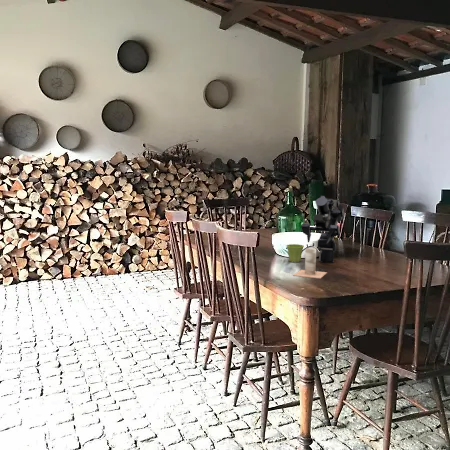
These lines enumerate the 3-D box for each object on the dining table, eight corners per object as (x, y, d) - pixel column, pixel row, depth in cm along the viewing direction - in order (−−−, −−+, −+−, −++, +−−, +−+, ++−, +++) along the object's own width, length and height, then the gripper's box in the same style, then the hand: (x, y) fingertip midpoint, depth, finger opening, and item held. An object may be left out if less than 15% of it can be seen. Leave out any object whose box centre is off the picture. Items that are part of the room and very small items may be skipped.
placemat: (300, 270, 241) (300, 269, 241) (326, 272, 236) (326, 272, 236) (293, 275, 229) (293, 275, 229) (320, 278, 224) (320, 277, 224)
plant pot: (304, 263, 258) (304, 247, 257) (286, 263, 259) (286, 246, 258) (302, 259, 268) (303, 244, 266) (285, 259, 268) (285, 244, 267)
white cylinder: (310, 272, 236) (311, 247, 234) (317, 274, 232) (318, 249, 230) (302, 273, 233) (303, 248, 232) (309, 275, 229) (310, 250, 228)
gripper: (302, 207, 248) (296, 231, 240) (339, 209, 240) (333, 234, 232) (306, 221, 256) (300, 244, 248) (342, 223, 249) (336, 247, 240)
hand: (317, 242), depth 242 cm, fingers open, 9 cm apart
